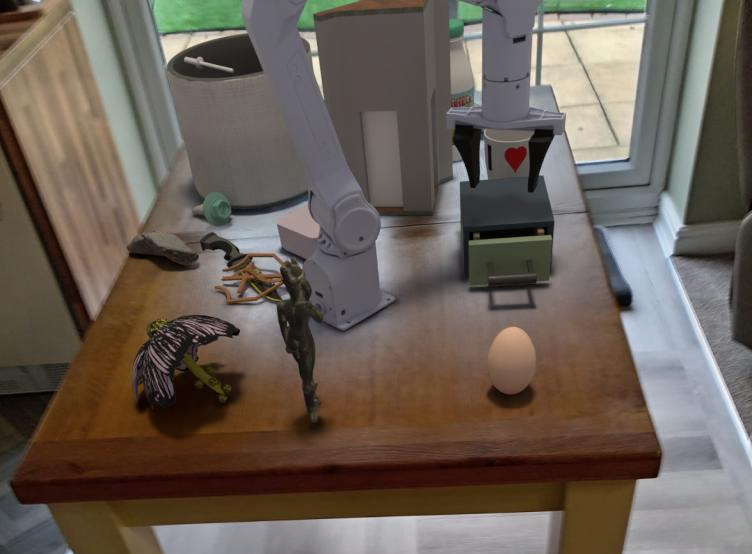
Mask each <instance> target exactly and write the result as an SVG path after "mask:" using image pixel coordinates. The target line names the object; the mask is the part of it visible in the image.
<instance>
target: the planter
mask: <svg viewBox="0 0 752 554" xmlns="http://www.w3.org/2000/svg"><path fill="white" fill-rule="evenodd" d="M301 39H302V42H303V44H304V47H305V50H306V53H307V55H308V58H309V61H310V64H311V66H312V69H313V72H314V73H315V70H314V62H313V56H312V55H313V54H312V49H311V44H310V42H309V41H308V40H307V39H305V38H304V37H302V36H301ZM185 57H189V58H194V59H197V58H198V57H202V58H203V60H204V62H206V63H210V64H214V65H219V66H223V67H227V68H231V69H233V70H234V72H233V73H231V72H226V71H222V70H218V69H214V68H210V67H206V66H203V68H202V69H198V68H197V67H196V65H193V64H189V63H185V61H184V58H185ZM166 72H167V77H168V81H169V84H170V89H171V92H172V96H173V100H174V104H175V105H174V106H175V109H176V112H177V117H178V121H179V125H180V129H181V134H182V138H183V143H184V146H185V151H186V154H187V160H188V162H189V167H190V172H191V175H192V179H193V184H194V186H195V189H196V192H197V193H198V195H199V196H200V197H201V198H203V199H204V200H205V198H206V197H207V196H208V195H209V194H210V193H214V192H218V193H221V194H223V195H224V196H226V198H227V199H228V201H229V203H230V206H231V210H233V209H234V210H255V209H256V210H258V209H266V208H271V207H272V208H273V207H275V206H276V207H277V206H279V205H284V204H287V203H290V202H293V201H295V200H297V199H299V198H301V197H304V196H305V195H307V194H308V189H307V186H306V184H305V181H304V178H305V176H306V173H305V171H304V168H303V166H302V163H301V161H300V159H299V156H298V154H297V151H296V149H295V146H294V144H293V141H292V139H291V137H290V134H289V132H288V129H287V127H286V124H285V122H284V120H283V117H282V115H281V112H280V110H279V107H278V105H277V103H276V100H275V98H274V95H273V93H272V90H271V88H270V86H269V83H268V81H267V78H266V76H265V73H264V71H263V69H262V66H261V64H260V61H259V59H258V56H257V54H256V52H255V49H254V47H253V44H252V42H251V39H250V37H249V35H248V32H246V33H238V34H231V35H225V36H221V37H217V38H214V39H213V38H212V39H209V40H205V41H203V42H200V43H197V44H194V45H192V46H190V47H187V48H185V49H183V50H181V51H180V52H178V53H176V54H175V55H173V56H172V57H171V58H170V60H169V61H168V62H167V64H166Z"/></svg>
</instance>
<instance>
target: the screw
mask: <svg viewBox="0 0 752 554" xmlns="http://www.w3.org/2000/svg"><path fill="white" fill-rule="evenodd" d="M190 211H191V214H193V215H201V217H202V216H204V218H205V220H206V222H207V223H209V224H210V225H212V226H214V227H223V226H225V225H226V224H227V223H228V222H229V221H230V218H231V216H232V208H231V206H230V203H229V201H228V199H227V198H226V196H224V195H223V194H221V193H218V192H214V193H210V194H209V195H208V196H207V197H206V198H205V199H204V200H203V203H201V204H200V205H196V206H195V207H194V208H191V210H190Z"/></svg>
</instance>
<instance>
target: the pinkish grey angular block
mask: <svg viewBox="0 0 752 554" xmlns="http://www.w3.org/2000/svg"><path fill="white" fill-rule="evenodd" d="M276 227H277V231H278V236H279V240H280V241H279V242H280V245H281V247H282V248H283V250H285V251H287V252H290V253H292V254H294V255H296V256H299V257H301V258H303V259H304V260H307V259H308V258H310V257H311V256H312V255H313V254H314V252H315V251H316V249H317V247H318V235H319V230H320V226H319V224H318V223H316V222H315V221H314V219H313V218H312V217H311V215H310V213H309V209H308V203H307V204H305V205H303V206H301V207H299V208H297V209H295V210H293V211H291V212H289V213H287V214H285V215H282V216H281V217H279V218H278V219H277V220H276Z"/></svg>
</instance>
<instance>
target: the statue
mask: <svg viewBox="0 0 752 554" xmlns="http://www.w3.org/2000/svg"><path fill="white" fill-rule="evenodd" d="M279 274H281V275H282V276H281V281H282V282H283V286H284V289H285V291H286V292H287V293H288V295H289V298H285V299H282V301H278V303H277V304H276V315H277V321H278V326H279V330H280V335H281V336H282V340H283V342H284V344H285V352H286V353H287V354H290V355H292V357H293V359H294V361H296V363H297V366H298V373H299V377H300V379H301V389H302V393H303V394H302V395H303V398H304V403H305V408H306V413H307V414H309V417H310V421H311V423H313V424H315V423H317V422H318V408H320V406H321V404H322V401H321V400H320V399H319V398H317V393H316V392H317V389H318V386H319V383H318V382H315V381H314V369H315V366H316V365H315V364H316V343H315V338H314V335H313V333H312V330H311V327H310V326H309V323H310V318H312V319H313V320H314V321H315V323H317V324H322V323H323V322H324V320H323V315H322V314H321V312H320V311H319V309H317V308H316V307H315V306H314V305H313V304H312V303H311V302H310V301H309V299H310V297H311V294H312V288H311V285H310V283H309V282H308V281H307V279H306V278H305V272H304V270H303V269H302V268H301V266H300V264H299V262H298V260H297V258H296V257H295V256H292V257H291V258H290V260H288V259H286V260H285V261H283V266H282V265H280V267H279Z"/></svg>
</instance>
